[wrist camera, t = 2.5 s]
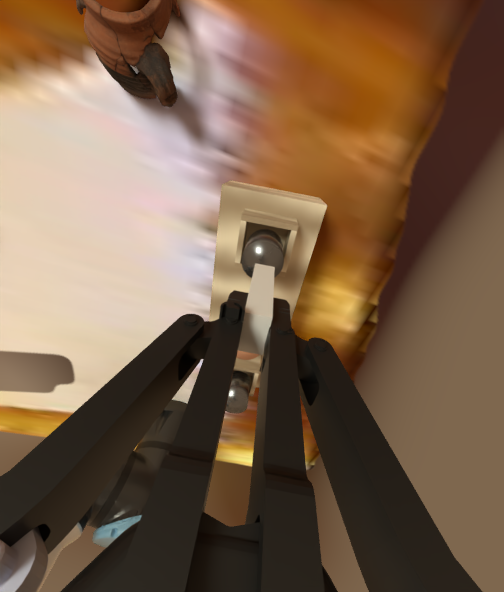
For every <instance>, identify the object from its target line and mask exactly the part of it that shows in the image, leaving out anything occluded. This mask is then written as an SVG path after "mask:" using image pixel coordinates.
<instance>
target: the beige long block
mask: <svg viewBox="0 0 504 592" xmlns="http://www.w3.org/2000/svg"><path fill="white" fill-rule="evenodd" d="M326 208H327V205H326V204H325V203H324V202H323V201H322V200H321V199H320V198H318V197H313V196H308V195H303V194H297V193H292V192H287V191H282V190H277V189H272V188H267V187H262V186H257V185H252V184H247V183H241V182H236V181H229V182H227V183H225V184H222V189H221V200H220V211H219V221H218V232H217V242H216V253H215V264H214V274H213V285H212V295H211V306H210V317H209V321H215V320H217V319H219V314H220V306H221V304H222V303H224V302H227V300H228V297H229V294H230V293H231V292H233V291H234V290H235V291H240V292H245V293H249V289H250V285H251V280H252V278H250V277H249V276H248V275H247V274H246V273H245V272H244V270H243V268H242V264H241V258H242V255H243V252H244V249H245V246H246V244H247V241H248V239H249V237H250V235H251V234H252V233H254V232H255V231H257V230H260V229H269V230H272V231H274V232H275V233H277V234H278V235H279V237H280V238H281V240H282V244H283V259H284V264H283V268H282V270H281V272H280V273H279V274H278V275H277V276H276V277H275V278H274V296H273V297H274V298H279V299H284V300H287V302H288V303H289V304H290V316H291V319H292V316H293V312H294V309H295V306H296V303H297V300H298V297H299V293H300V290H301V287H302V284H303V281H304V278H305V274H306V271H307V268H308V265H309V262H310V259H311V255H312V252H313V249H314V246H315V243H316V240H317V236H318V233H319V230H320V227H321V224H322V221H323V217H324V214H325V211H326ZM263 355H264V352H263ZM263 355H259V356H258V357H256V358H254V359H251V360H242V359H239V358H236V362H235V367H234V371H242V372H244V373H246V374H247V375H248V376H249V377H250V388H249V396H253V394H254V391H255V387H258V388H259V386H260V375H261V372H260V371H259V370H260V366H261V363H262V359H263Z"/></svg>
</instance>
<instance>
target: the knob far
mask: <svg viewBox="0 0 504 592" xmlns="http://www.w3.org/2000/svg"><path fill="white" fill-rule="evenodd" d="M249 388H250V377H249V376H248V375H247V374H246V373H244V372H242V371H233V376H232V381H231V386H230V391H229V395H228V400H227V405H226V410H225V411H227V412H230V413H241V412H243V411H245V410H246V409H247V404H248V396H249Z"/></svg>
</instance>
